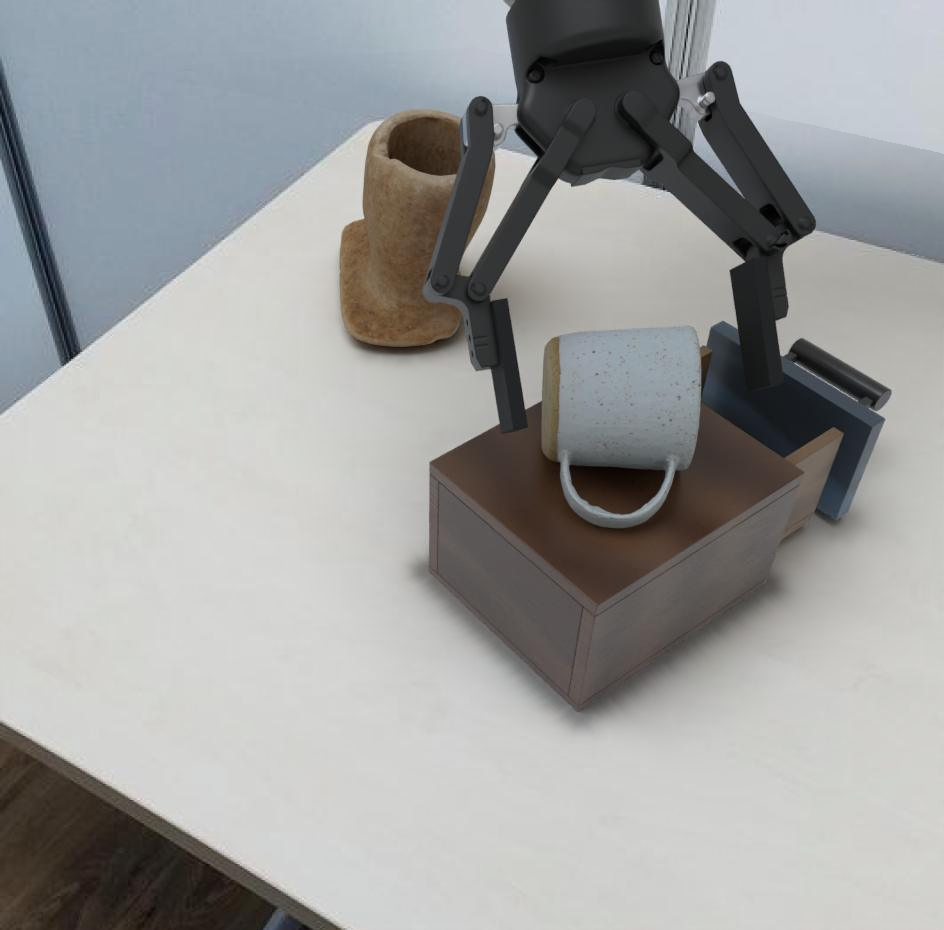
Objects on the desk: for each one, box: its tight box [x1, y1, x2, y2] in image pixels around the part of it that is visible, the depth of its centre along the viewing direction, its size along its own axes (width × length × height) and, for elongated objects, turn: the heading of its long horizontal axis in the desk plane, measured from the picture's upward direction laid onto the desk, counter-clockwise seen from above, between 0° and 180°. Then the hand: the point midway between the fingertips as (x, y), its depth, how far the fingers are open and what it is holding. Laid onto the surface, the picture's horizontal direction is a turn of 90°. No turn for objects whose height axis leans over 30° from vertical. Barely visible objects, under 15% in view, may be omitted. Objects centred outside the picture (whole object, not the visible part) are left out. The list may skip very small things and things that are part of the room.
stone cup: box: [339, 108, 497, 348], centre depth 86 cm, size 15×12×15 cm
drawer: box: [700, 320, 893, 541], centre depth 72 cm, size 20×13×8 cm, turn 125°
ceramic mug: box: [541, 325, 701, 528], centre depth 61 cm, size 11×8×8 cm
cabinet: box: [428, 400, 805, 713], centre depth 68 cm, size 16×14×10 cm
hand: (641, 409), depth 59 cm, fingers open, 13 cm apart
